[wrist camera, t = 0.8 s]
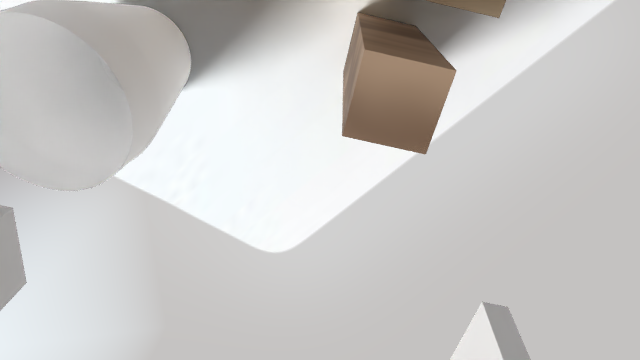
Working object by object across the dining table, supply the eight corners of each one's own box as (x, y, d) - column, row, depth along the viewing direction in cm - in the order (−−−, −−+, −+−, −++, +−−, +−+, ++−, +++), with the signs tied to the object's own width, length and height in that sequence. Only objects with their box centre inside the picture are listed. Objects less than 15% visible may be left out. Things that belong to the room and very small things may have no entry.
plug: (357, 12, 28) (364, 49, 18) (415, 26, 29) (456, 70, 18) (343, 71, 30) (342, 136, 20) (398, 83, 31) (425, 154, 20)
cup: (216, 6, 29) (141, 39, 18) (200, 127, 33) (132, 211, 22) (81, -32, 28) (-79, -20, 18) (82, 97, 32) (-45, 169, 22)
